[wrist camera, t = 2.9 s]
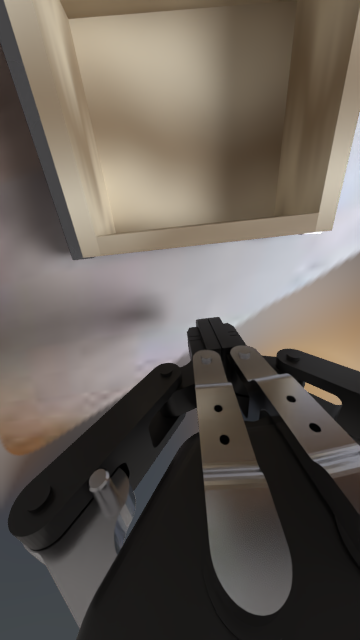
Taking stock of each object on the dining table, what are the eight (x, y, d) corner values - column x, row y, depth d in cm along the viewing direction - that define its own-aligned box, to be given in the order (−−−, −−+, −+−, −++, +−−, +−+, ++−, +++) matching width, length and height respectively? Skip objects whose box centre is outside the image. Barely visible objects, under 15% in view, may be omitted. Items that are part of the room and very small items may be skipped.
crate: (51, 8, 9) (-59, -203, 4) (306, -12, 9) (439, -231, 5) (109, 246, 13) (83, 258, 9) (278, 228, 13) (331, 230, 9)
